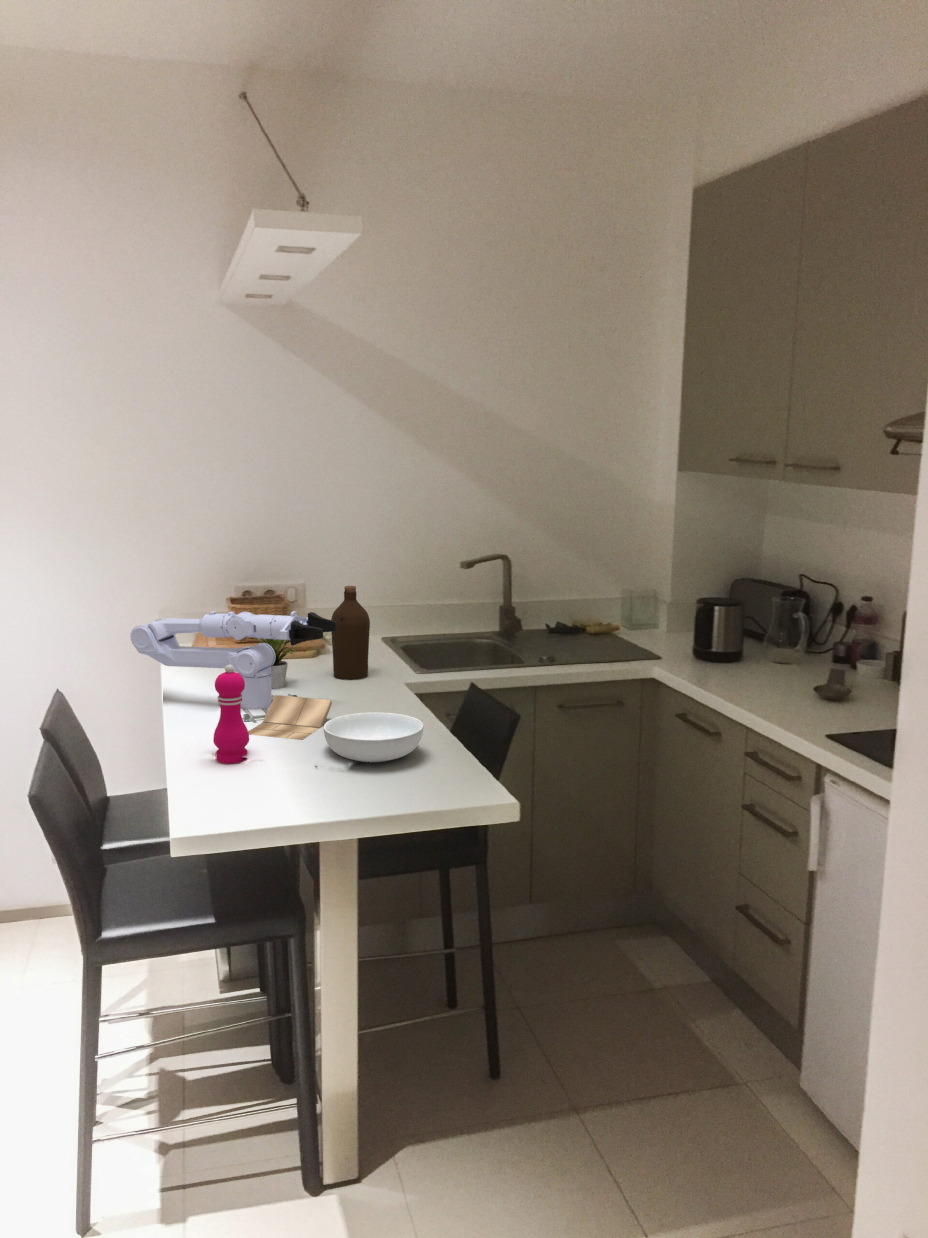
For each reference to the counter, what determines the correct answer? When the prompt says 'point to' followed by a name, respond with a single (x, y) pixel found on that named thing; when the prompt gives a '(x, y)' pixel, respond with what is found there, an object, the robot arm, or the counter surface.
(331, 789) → the counter surface
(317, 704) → the click plank
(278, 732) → the laid floor boards
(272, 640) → the house plant
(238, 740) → the pepper mill
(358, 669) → the olive oil
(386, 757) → the serving bowl
